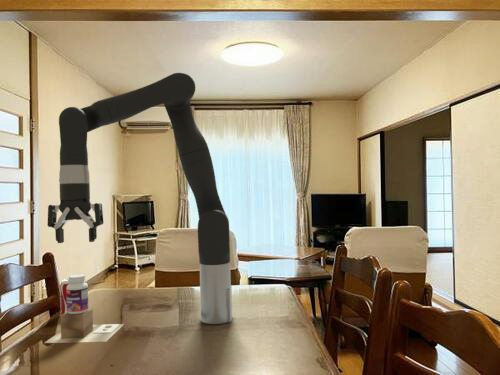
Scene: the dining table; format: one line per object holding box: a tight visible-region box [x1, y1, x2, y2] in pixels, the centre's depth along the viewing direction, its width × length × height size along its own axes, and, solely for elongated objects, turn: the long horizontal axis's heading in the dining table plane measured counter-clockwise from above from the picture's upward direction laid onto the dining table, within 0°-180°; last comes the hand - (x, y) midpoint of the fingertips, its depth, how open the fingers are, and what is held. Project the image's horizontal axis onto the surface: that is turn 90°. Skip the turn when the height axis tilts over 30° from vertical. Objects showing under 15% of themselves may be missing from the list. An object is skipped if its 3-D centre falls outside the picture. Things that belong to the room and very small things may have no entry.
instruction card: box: [93, 323, 121, 333], centre depth 115 cm, size 5×7×1 cm
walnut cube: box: [60, 308, 94, 339], centre depth 111 cm, size 6×6×6 cm
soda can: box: [59, 278, 70, 316], centre depth 130 cm, size 5×5×12 cm
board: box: [44, 323, 125, 344], centre depth 112 cm, size 16×14×1 cm
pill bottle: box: [66, 273, 89, 314], centre depth 111 cm, size 5×5×10 cm
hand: (76, 242), depth 112 cm, fingers open, 8 cm apart
